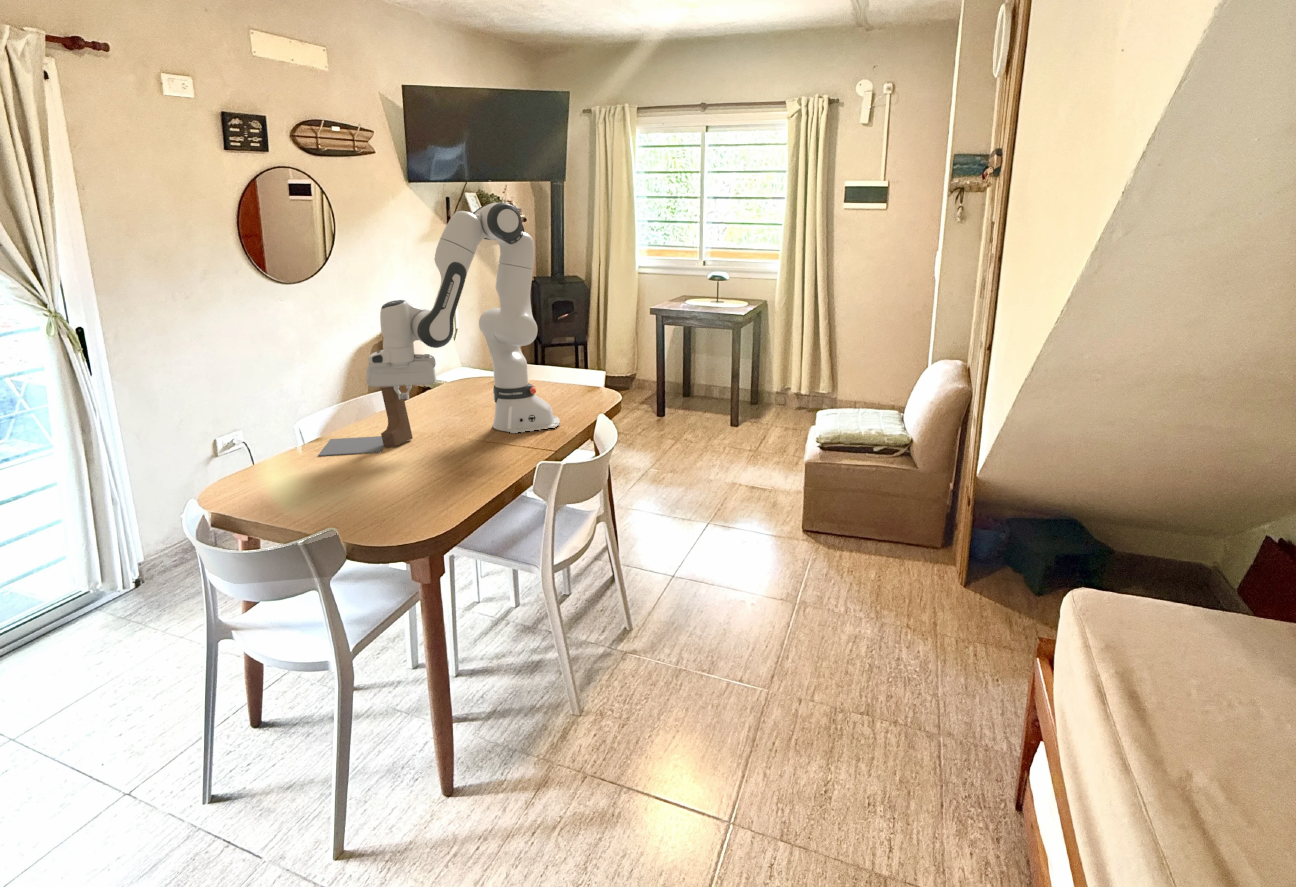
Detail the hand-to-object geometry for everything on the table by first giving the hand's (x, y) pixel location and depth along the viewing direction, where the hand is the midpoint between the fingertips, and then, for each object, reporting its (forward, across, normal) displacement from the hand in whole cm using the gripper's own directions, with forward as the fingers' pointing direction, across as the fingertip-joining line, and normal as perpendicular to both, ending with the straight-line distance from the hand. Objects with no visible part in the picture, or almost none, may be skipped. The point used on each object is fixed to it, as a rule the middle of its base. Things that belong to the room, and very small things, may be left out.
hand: (404, 399), depth 229 cm
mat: (+14, +16, 0) cm, 22 cm away
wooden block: (+14, +3, 0) cm, 15 cm away
